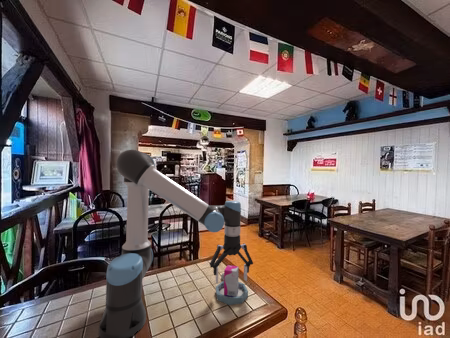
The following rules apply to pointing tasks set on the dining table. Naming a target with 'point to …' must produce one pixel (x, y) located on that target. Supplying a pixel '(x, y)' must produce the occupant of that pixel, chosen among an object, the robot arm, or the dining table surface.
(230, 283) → the supplement box
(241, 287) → the dish
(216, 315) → the dining table surface
